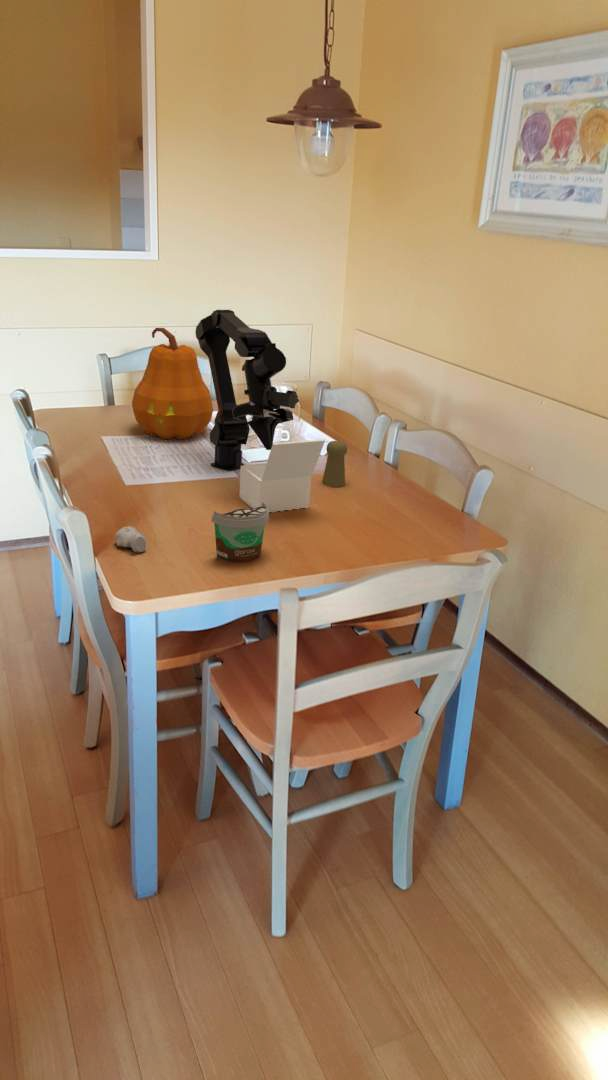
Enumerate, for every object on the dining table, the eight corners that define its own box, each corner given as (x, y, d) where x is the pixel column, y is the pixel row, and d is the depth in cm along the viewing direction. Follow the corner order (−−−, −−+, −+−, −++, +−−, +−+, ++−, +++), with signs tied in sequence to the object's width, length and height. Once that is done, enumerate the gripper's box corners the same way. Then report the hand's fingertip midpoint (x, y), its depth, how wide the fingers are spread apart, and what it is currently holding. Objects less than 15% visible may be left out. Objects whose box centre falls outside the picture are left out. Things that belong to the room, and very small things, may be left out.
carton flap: (272, 443, 174) (273, 444, 174) (324, 439, 180) (325, 440, 180) (261, 479, 182) (262, 480, 182) (311, 474, 188) (311, 475, 187)
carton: (239, 497, 194) (240, 465, 191) (288, 492, 200) (290, 461, 197) (258, 514, 185) (260, 480, 182) (309, 508, 191) (311, 475, 188)
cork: (343, 488, 205) (347, 446, 201) (319, 485, 206) (323, 443, 202) (347, 481, 211) (351, 440, 207) (324, 478, 212) (327, 437, 208)
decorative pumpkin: (117, 437, 232) (114, 330, 220) (154, 418, 253) (154, 319, 241) (193, 449, 226) (195, 340, 215) (225, 429, 247) (228, 328, 236)
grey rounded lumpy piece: (114, 547, 166) (136, 536, 168) (128, 561, 160) (151, 550, 162) (107, 529, 164) (130, 518, 166) (121, 543, 158) (145, 532, 160)
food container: (226, 570, 157) (227, 522, 153) (210, 558, 162) (211, 511, 158) (278, 558, 164) (282, 511, 160) (262, 547, 169) (264, 501, 165)
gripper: (268, 370, 180) (279, 439, 179) (307, 381, 196) (317, 445, 196) (226, 382, 185) (236, 450, 184) (267, 392, 201) (277, 454, 201)
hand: (269, 449), depth 191 cm, fingers closed
